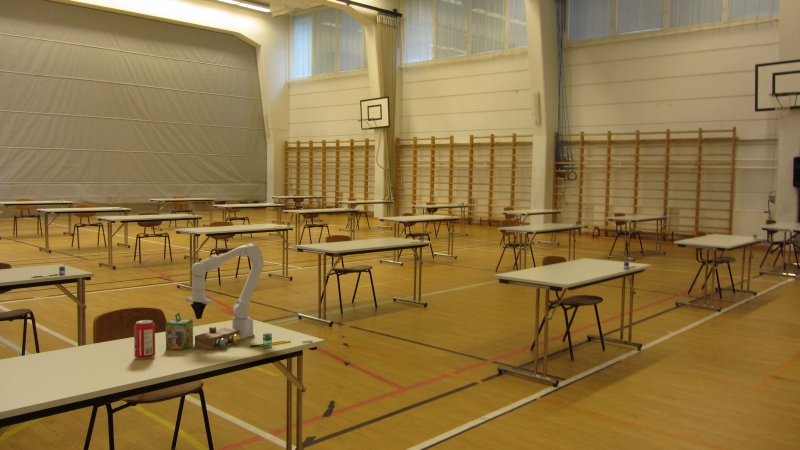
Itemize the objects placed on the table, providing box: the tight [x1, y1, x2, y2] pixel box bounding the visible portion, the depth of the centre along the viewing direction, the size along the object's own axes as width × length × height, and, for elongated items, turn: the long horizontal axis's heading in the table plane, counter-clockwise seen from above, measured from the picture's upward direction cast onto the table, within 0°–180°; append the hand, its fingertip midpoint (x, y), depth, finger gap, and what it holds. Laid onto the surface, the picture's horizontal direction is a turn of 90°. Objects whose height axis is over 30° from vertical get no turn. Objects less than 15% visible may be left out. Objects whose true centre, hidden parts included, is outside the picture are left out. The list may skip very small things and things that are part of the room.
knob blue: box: [215, 338, 228, 348], centre depth 266 cm, size 4×11×4 cm, turn 62°
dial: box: [208, 326, 217, 333], centre depth 271 cm, size 3×3×2 cm
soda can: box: [133, 319, 156, 361], centre depth 248 cm, size 8×8×15 cm
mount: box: [194, 327, 240, 351], centre depth 270 cm, size 18×9×5 cm, turn 152°
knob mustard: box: [228, 334, 242, 344], centre depth 273 cm, size 4×11×4 cm, turn 62°
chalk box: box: [164, 312, 194, 350], centre depth 266 cm, size 9×9×15 cm
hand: (198, 318), depth 278 cm, fingers closed
